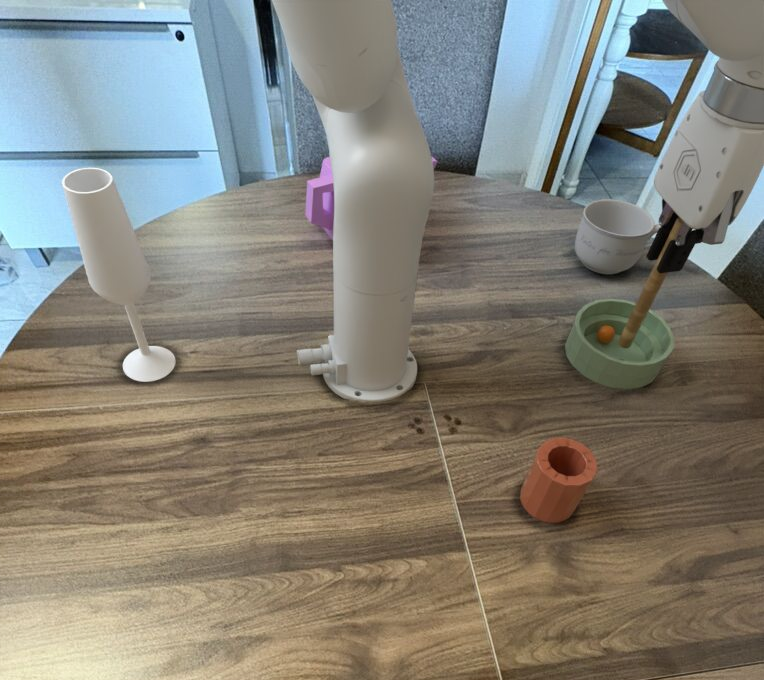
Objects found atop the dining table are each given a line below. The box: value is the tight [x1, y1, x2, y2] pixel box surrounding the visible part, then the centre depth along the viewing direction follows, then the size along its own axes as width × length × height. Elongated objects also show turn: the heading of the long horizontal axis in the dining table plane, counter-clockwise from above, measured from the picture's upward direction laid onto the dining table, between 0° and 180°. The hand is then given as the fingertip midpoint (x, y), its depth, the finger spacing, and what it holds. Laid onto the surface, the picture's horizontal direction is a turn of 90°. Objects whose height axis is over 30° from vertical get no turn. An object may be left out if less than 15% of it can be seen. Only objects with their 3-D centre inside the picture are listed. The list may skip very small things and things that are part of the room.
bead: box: [597, 325, 615, 343], centre depth 86 cm, size 2×2×2 cm
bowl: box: [564, 297, 676, 390], centre depth 84 cm, size 13×13×5 cm
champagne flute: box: [61, 167, 176, 383], centre depth 70 cm, size 7×7×24 cm
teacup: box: [574, 198, 661, 275], centre depth 95 cm, size 14×11×8 cm
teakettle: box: [304, 155, 438, 242], centre depth 95 cm, size 17×17×12 cm
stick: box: [618, 217, 683, 348], centre depth 77 cm, size 2×2×18 cm
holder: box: [519, 437, 598, 524], centre depth 68 cm, size 6×6×8 cm
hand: (663, 263), depth 74 cm, fingers closed on stick, 1 cm apart
